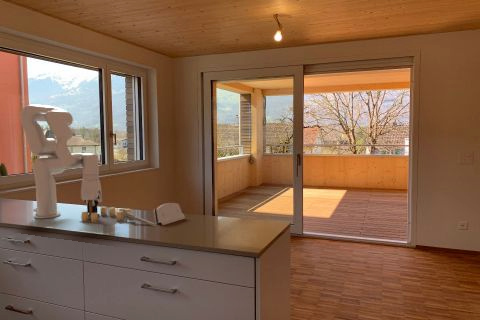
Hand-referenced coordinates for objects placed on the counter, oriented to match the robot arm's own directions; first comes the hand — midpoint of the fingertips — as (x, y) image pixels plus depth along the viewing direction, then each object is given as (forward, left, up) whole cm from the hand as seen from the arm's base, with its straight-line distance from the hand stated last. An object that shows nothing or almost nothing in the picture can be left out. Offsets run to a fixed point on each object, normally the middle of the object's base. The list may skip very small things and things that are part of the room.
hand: (92, 212), depth 186 cm
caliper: (+29, 0, -4) cm, 29 cm away
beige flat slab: (+39, +11, -4) cm, 41 cm away
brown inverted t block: (0, 0, -3) cm, 3 cm away
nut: (-4, 0, -4) cm, 5 cm away
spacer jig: (+9, 0, -4) cm, 10 cm away
